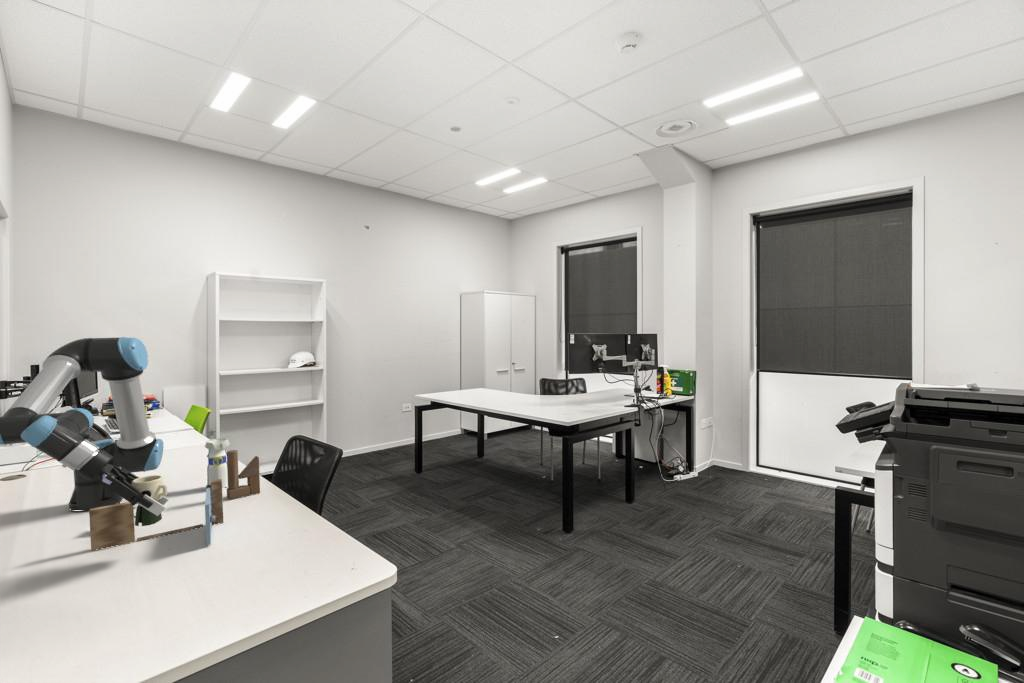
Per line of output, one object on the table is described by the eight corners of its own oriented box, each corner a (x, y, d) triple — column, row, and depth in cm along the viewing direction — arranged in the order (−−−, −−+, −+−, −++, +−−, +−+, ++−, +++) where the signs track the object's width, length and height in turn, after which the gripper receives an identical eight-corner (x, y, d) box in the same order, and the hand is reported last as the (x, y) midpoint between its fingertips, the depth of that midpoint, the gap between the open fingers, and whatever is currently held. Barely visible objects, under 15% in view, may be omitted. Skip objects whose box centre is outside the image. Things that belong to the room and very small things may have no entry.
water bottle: (232, 488, 195) (229, 426, 194) (207, 492, 190) (204, 429, 189) (230, 482, 202) (228, 423, 201) (206, 486, 197) (203, 426, 196)
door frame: (91, 551, 140) (88, 504, 140) (92, 548, 142) (89, 501, 142) (223, 522, 160) (221, 480, 159) (222, 520, 162) (221, 479, 161)
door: (208, 524, 157) (206, 488, 157) (216, 523, 158) (215, 487, 158) (206, 545, 142) (204, 505, 142) (216, 543, 143) (214, 503, 143)
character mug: (119, 529, 134) (118, 482, 134) (139, 519, 141) (138, 475, 141) (158, 528, 134) (157, 482, 134) (176, 518, 141) (175, 474, 141)
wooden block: (260, 493, 188) (258, 447, 188) (229, 500, 181) (227, 452, 180) (257, 490, 191) (255, 445, 190) (226, 497, 184) (225, 451, 183)
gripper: (85, 462, 138) (156, 507, 147) (64, 481, 121) (147, 530, 130) (108, 442, 141) (177, 487, 149) (91, 457, 124) (170, 507, 132)
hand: (163, 507), depth 140 cm, fingers closed on character mug, 7 cm apart
